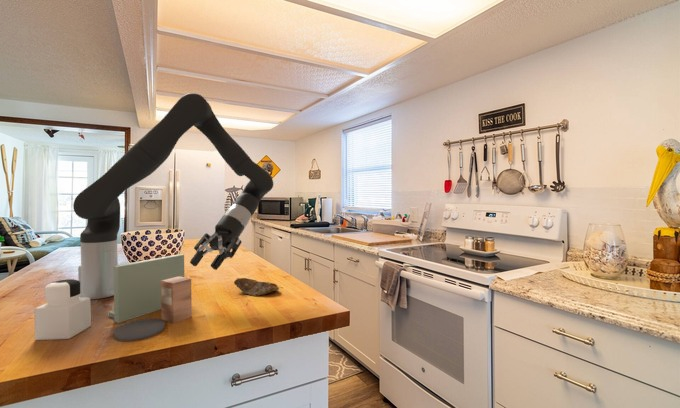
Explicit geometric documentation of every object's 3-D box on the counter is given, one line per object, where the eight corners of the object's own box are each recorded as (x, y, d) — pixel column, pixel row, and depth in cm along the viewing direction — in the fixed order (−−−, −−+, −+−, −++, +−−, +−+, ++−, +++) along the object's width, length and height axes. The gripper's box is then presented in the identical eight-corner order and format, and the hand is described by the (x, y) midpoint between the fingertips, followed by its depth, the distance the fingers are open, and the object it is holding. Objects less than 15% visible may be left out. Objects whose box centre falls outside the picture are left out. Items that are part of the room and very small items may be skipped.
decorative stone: (245, 272, 111) (285, 279, 107) (244, 284, 111) (283, 292, 107) (230, 278, 101) (273, 287, 98) (228, 292, 102) (271, 301, 98)
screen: (118, 323, 79) (117, 267, 78) (104, 317, 82) (102, 263, 81) (184, 301, 94) (184, 254, 94) (170, 297, 98) (169, 252, 97)
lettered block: (160, 319, 81) (159, 280, 80) (179, 313, 85) (179, 276, 85) (172, 323, 78) (172, 283, 78) (191, 316, 83) (191, 278, 83)
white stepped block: (60, 327, 76) (58, 277, 76) (91, 326, 77) (90, 277, 76) (34, 340, 69) (32, 286, 69) (69, 339, 70) (67, 285, 69)
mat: (102, 339, 70) (102, 334, 70) (137, 321, 80) (137, 317, 80) (143, 342, 68) (143, 338, 68) (174, 323, 78) (174, 319, 78)
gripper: (210, 213, 99) (177, 256, 90) (244, 215, 93) (212, 261, 83) (224, 228, 104) (194, 270, 94) (257, 231, 97) (228, 276, 88)
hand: (202, 266), depth 89 cm, fingers open, 8 cm apart
